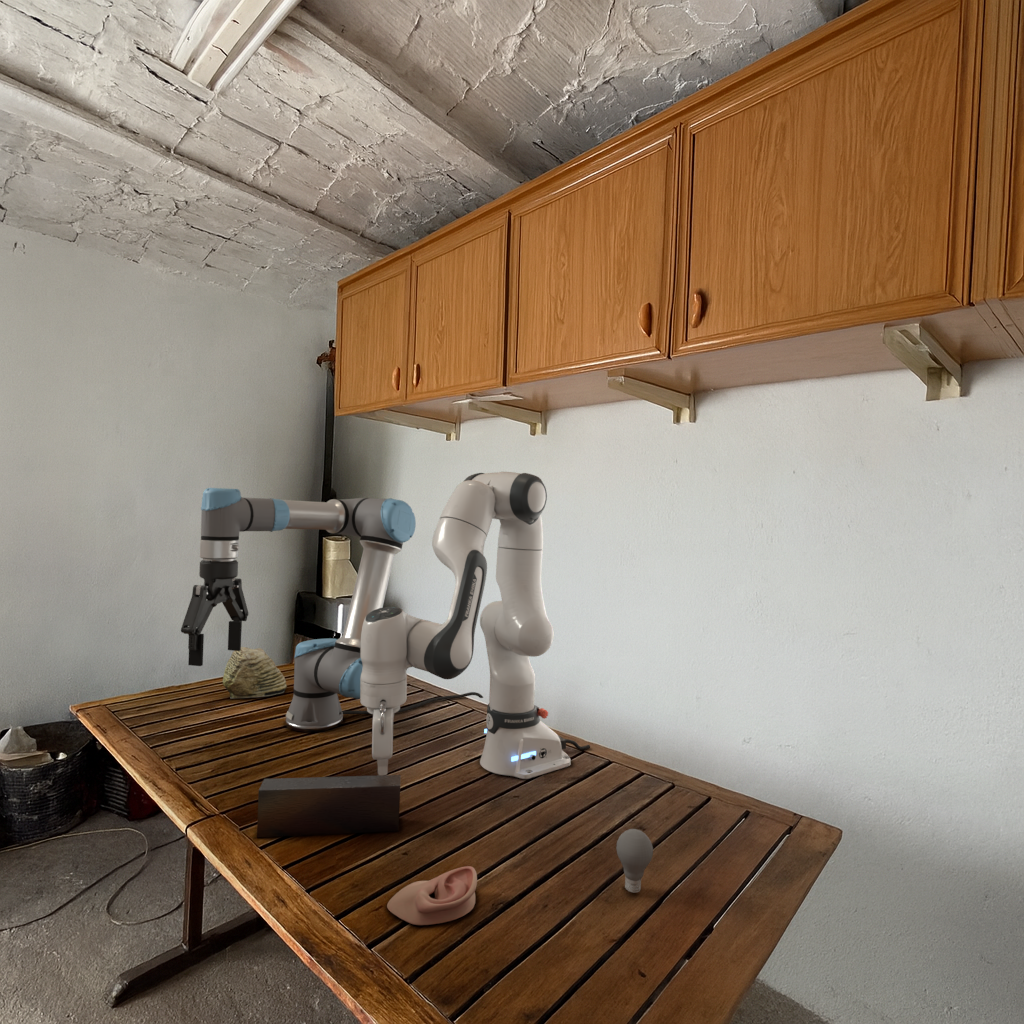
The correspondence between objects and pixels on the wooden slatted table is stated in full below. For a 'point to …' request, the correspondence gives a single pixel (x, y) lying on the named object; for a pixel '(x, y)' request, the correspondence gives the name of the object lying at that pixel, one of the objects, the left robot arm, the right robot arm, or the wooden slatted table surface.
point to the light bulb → (634, 857)
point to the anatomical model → (436, 898)
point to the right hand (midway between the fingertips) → (383, 762)
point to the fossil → (252, 675)
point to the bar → (328, 805)
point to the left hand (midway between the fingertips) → (215, 657)
